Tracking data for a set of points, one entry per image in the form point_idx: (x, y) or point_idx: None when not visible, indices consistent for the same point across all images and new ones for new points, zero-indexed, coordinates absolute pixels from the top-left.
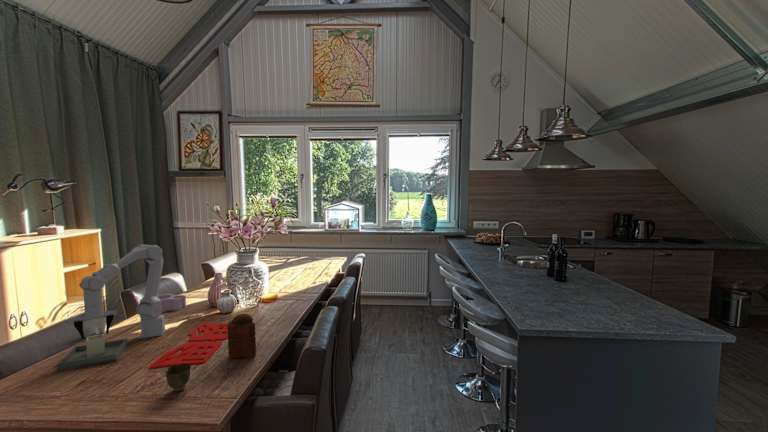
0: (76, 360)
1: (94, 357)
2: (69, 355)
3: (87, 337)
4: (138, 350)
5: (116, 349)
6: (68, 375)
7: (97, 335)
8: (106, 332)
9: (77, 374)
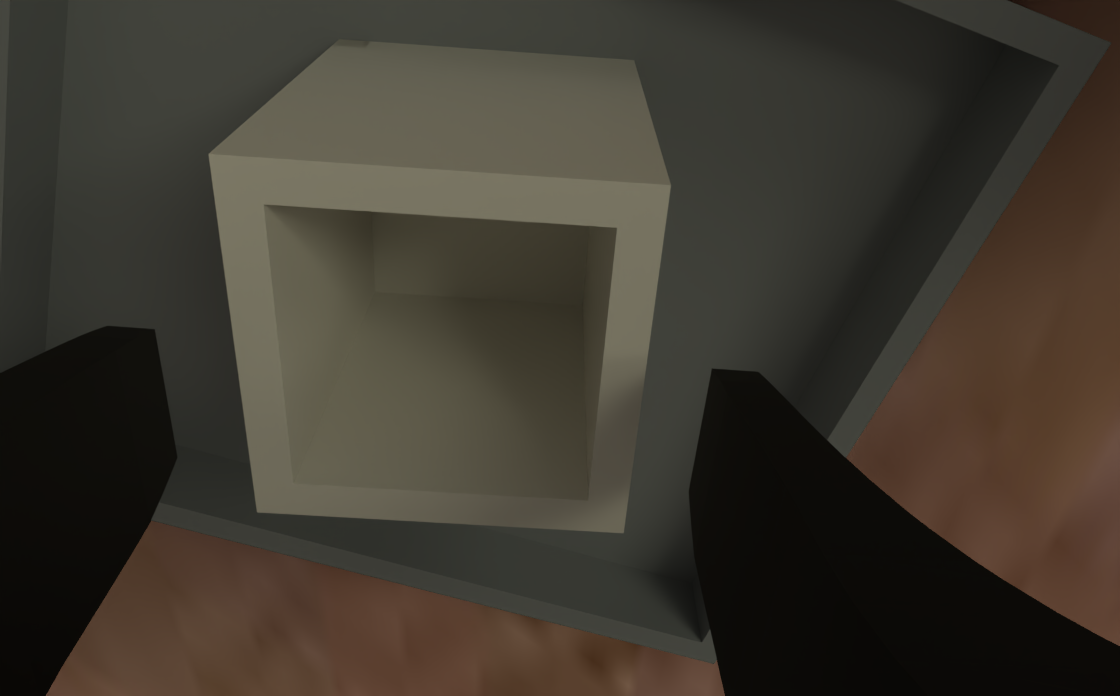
0: (222, 537)
1: (452, 594)
2: (30, 95)
3: (239, 218)
4: (1032, 426)
5: (790, 257)
6: (207, 596)
7: (492, 219)
8: (700, 551)
9: (299, 632)
